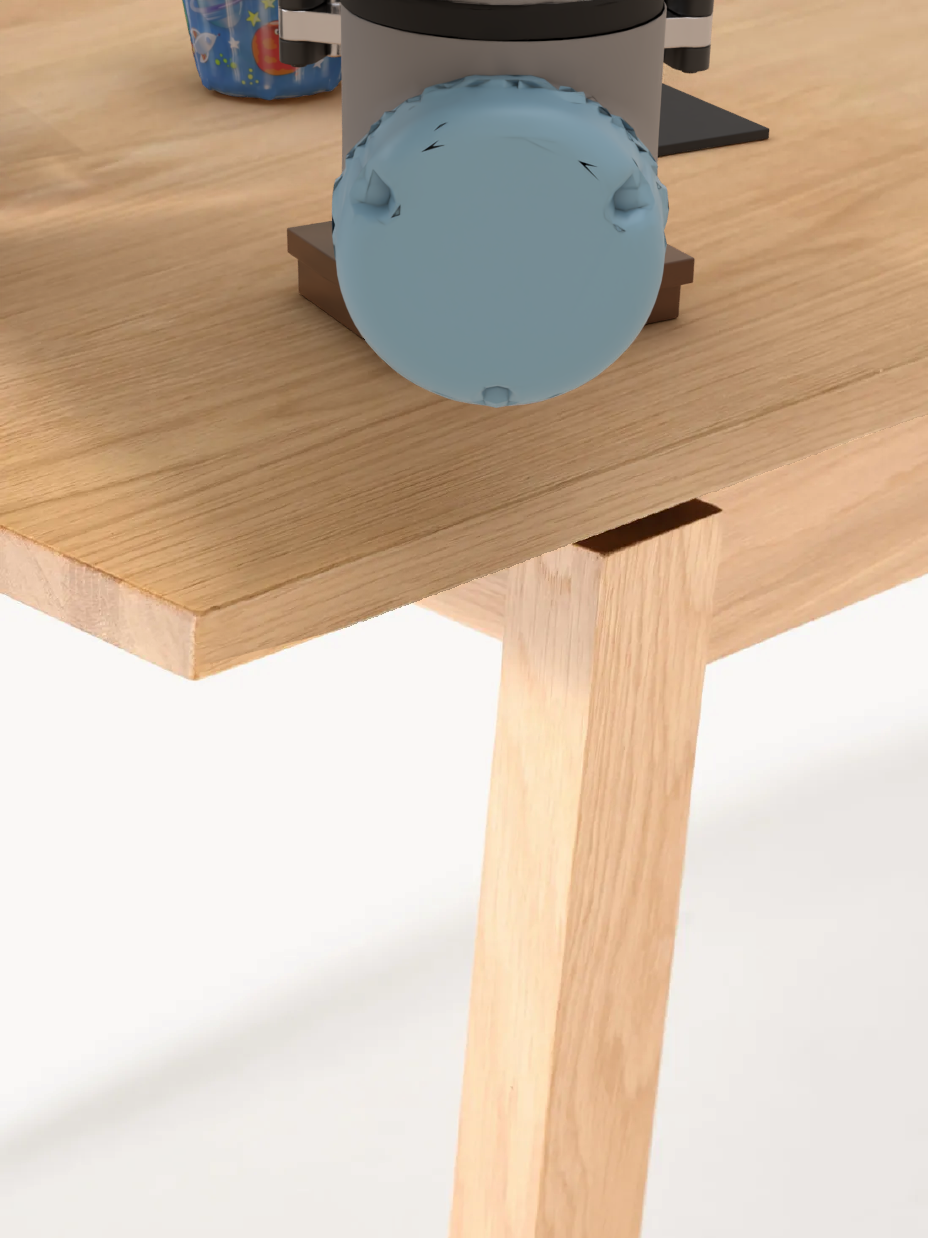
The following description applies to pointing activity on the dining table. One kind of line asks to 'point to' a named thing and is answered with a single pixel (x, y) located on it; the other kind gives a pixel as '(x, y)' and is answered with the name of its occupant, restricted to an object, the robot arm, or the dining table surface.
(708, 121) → the mat
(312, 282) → the low wooden stand
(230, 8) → the snack cup
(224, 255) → the dining table surface
